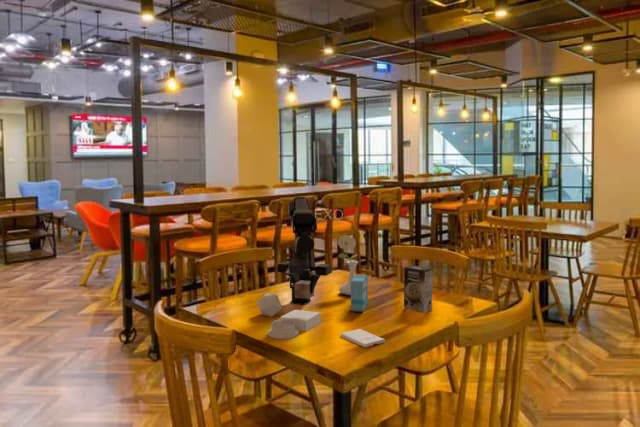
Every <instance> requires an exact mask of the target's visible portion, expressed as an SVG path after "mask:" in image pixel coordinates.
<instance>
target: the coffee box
mask: <svg viewBox="0 0 640 427" xmlns="http://www.w3.org/2000/svg"><path fill="white" fill-rule="evenodd" d="M403 268H404V269H403V271H404V272H403V273H404V274H403V275H404V276H403V277H404V278H403V280H404V281H403V309H404V310H409V311H413V312H414V311H415V312H418V313H422V314H423V313H425V314H426V313H427V312H429V311H432V310H433V284H434V283H433V282H434V268H433V267H427V266H421V265H415V264H413V265H408V266H404V267H403Z"/></svg>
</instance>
